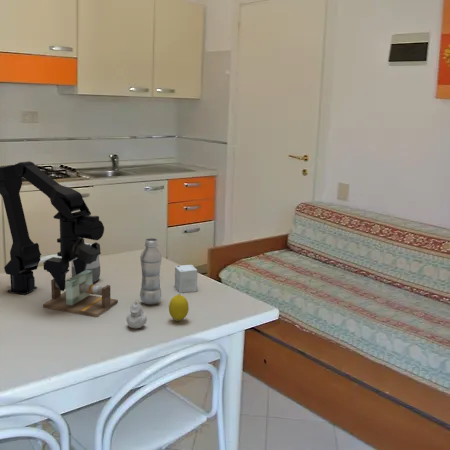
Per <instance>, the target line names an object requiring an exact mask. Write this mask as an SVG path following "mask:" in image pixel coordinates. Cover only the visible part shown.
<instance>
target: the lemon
mask: <svg viewBox="0 0 450 450" xmlns="http://www.w3.org/2000/svg"><path fill="white" fill-rule="evenodd" d="M189 310H190V309H189V301H188V300H187V298H186V297H185V296H183V295H182V294H181V293H178V294H177V295H174V296H173V297H172V298H171V299H170V301H169V305H168V312H169V315H170V317H171V318H172V319H174V320H175V321H177V322H180V321H181V320H184V319H185V318H186V317H187V315H188V313H189Z"/></svg>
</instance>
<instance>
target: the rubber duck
mask: <svg viewBox="0 0 450 450" xmlns="http://www.w3.org/2000/svg"><path fill="white" fill-rule="evenodd" d="M144 313H145V312H144V310H143V306H142V305H141V304H140V302H139V303H137V300H135V302H132V305H131V306H130V313H129V314H128V315H127V316H126V324H127V325H128V327H129V328H131V329H140V328H142V327H144V326H145V325H146V323H147V320H148V319H147V316H146V315H145V314H144Z"/></svg>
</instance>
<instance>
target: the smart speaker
mask: <svg viewBox="0 0 450 450" xmlns="http://www.w3.org/2000/svg"><path fill="white" fill-rule="evenodd" d="M84 243H85V244H87V245H88V244H90V246H91V245H92V244H93V243H88V242H84ZM85 270H91V271H92V284H93V283H96V282H98V280H99V279H100V276H101V262H100V255H98V257H97V260H96V261H94V262H92V263H91V264H87V266H86V269H85ZM70 272H71V278H72V277H74V276H76V272H75V268H74V264H73V261H71V269H70Z"/></svg>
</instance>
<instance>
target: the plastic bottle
mask: <svg viewBox="0 0 450 450" xmlns="http://www.w3.org/2000/svg"><path fill="white" fill-rule="evenodd" d="M158 244H159V243H158V239H157V238H153V237H149V238H146V239H145V240H144V247H145V248H144V249H143V250H142V252H141V253H140V256H139V258H140V259H139V260H140V267H141V288H140V292H139V297H140V298H139V299H140V301H141V303H143V304H144V305H156V304H158V303H160V301H161V299H162V288H161V283H160V282H161V280H160V278H161V275H160V274H161V265H162V259H163V258H162V253H161V252H160V250H159V249H158V246H159V245H158Z"/></svg>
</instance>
